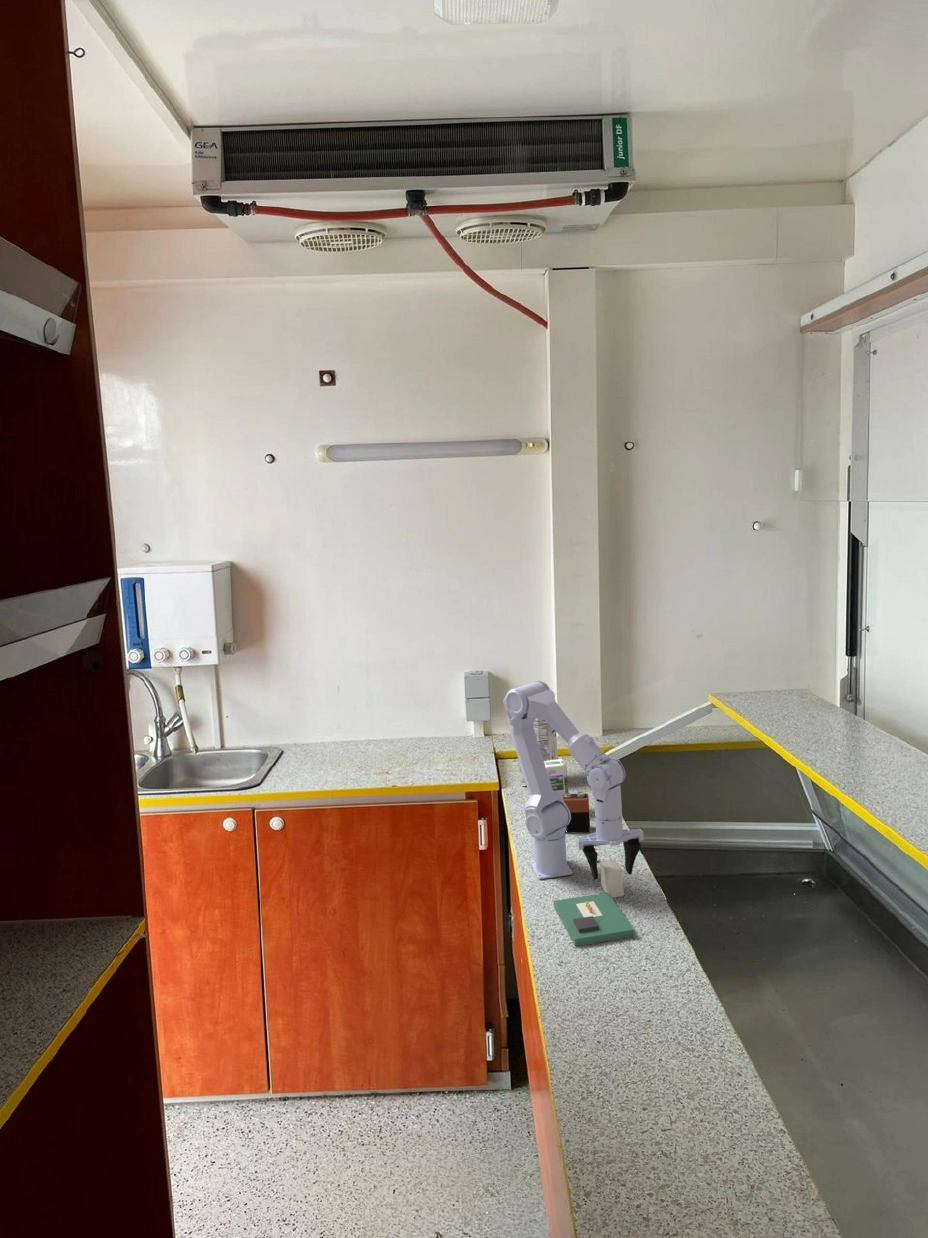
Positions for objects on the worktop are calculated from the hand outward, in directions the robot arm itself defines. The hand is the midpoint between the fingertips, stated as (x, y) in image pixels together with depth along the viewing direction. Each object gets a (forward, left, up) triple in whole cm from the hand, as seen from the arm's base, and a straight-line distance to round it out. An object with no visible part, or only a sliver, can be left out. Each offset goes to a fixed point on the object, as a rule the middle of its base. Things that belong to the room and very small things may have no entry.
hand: (611, 875), depth 191 cm
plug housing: (0, 0, -4) cm, 4 cm away
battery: (-34, +2, -4) cm, 34 cm away
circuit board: (+11, -8, -4) cm, 14 cm away
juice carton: (-69, +1, -4) cm, 69 cm away
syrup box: (-46, 0, -4) cm, 46 cm away
